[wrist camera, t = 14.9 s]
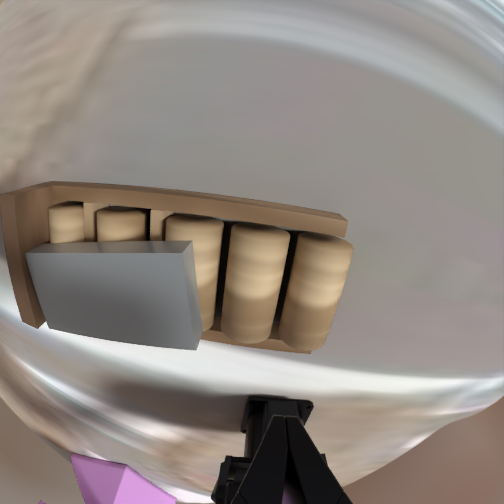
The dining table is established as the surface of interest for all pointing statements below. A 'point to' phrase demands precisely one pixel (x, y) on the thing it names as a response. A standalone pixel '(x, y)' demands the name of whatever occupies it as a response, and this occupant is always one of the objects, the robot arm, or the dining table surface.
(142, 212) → the roller
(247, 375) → the dining table surface
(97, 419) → the dining table surface
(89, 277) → the slab
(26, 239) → the stop wall
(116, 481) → the chair
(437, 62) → the dining table surface
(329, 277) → the roller bed
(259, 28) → the dining table surface
